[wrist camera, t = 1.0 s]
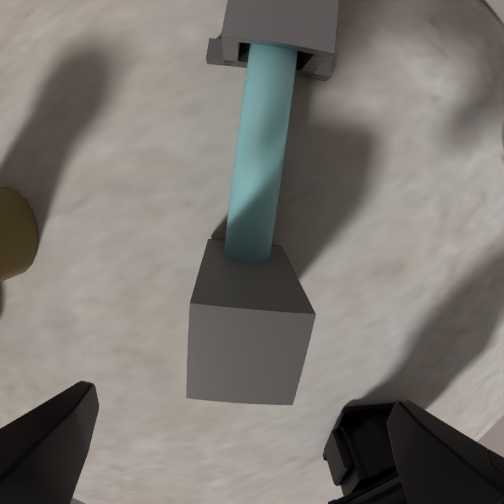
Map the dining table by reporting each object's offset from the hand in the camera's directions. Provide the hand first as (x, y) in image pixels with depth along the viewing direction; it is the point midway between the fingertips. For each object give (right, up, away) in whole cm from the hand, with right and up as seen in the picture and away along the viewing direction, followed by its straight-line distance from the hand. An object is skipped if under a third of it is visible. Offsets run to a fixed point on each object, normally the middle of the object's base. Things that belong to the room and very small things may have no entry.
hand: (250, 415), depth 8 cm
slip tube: (+1, +12, +7) cm, 14 cm away
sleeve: (+1, +18, +6) cm, 19 cm away
